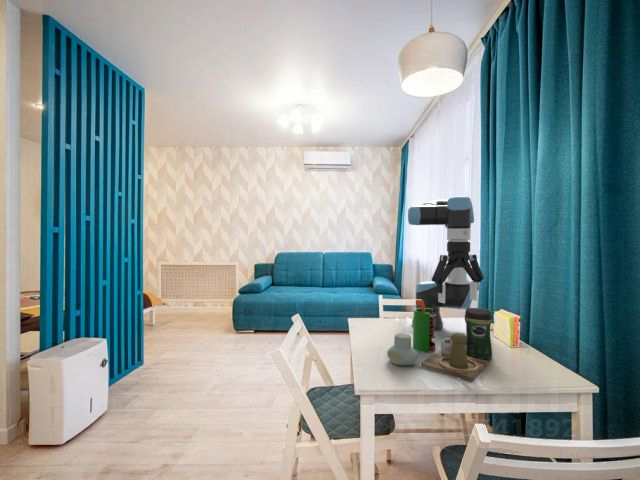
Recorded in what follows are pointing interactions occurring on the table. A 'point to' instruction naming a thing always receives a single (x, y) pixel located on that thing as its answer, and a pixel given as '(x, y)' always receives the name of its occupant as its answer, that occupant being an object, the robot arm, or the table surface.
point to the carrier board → (441, 365)
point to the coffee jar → (478, 333)
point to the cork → (458, 351)
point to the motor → (423, 328)
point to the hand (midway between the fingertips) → (457, 301)
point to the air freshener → (402, 350)
